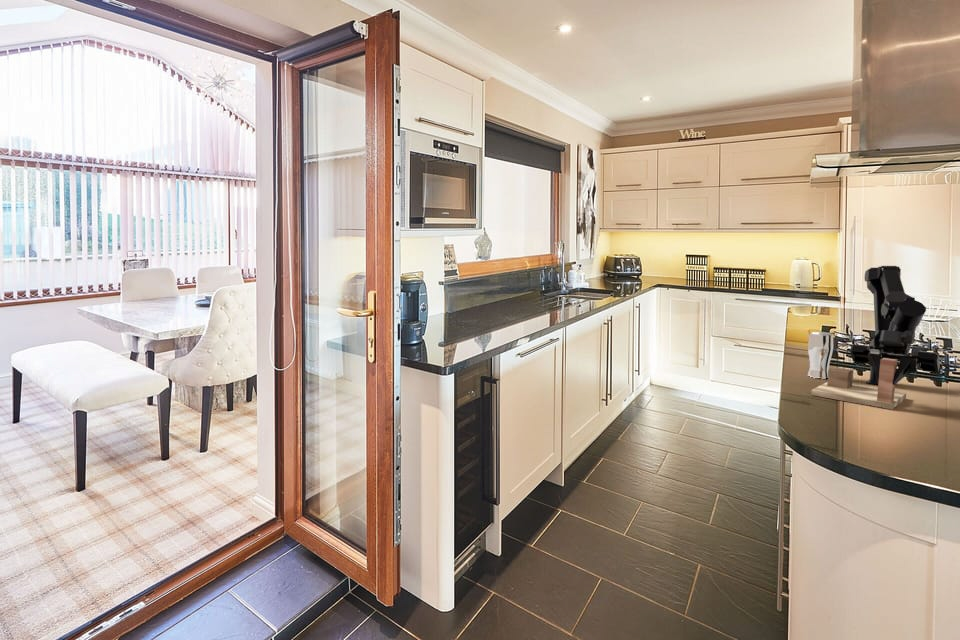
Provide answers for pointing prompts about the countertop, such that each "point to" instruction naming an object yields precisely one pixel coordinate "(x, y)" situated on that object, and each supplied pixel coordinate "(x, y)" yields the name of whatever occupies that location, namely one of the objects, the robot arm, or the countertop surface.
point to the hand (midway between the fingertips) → (885, 382)
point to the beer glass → (820, 354)
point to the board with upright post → (868, 389)
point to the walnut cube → (840, 377)
